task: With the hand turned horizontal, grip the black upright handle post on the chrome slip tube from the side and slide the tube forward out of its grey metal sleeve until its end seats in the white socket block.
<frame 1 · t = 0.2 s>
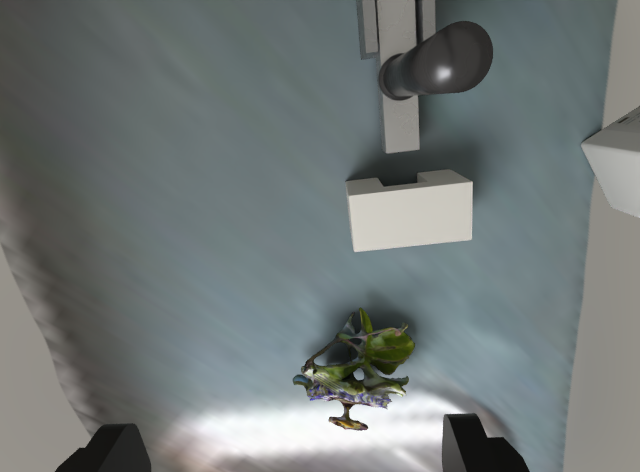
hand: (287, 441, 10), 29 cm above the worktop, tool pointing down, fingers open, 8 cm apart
slip tube: (414, 38, 23), point 9 cm above the worktop, slide at 0.0 cm
container: (632, 152, 35), on the worktop
socket block: (398, 200, 37), on the worktop
passion flower: (352, 340, 43), on the worktop
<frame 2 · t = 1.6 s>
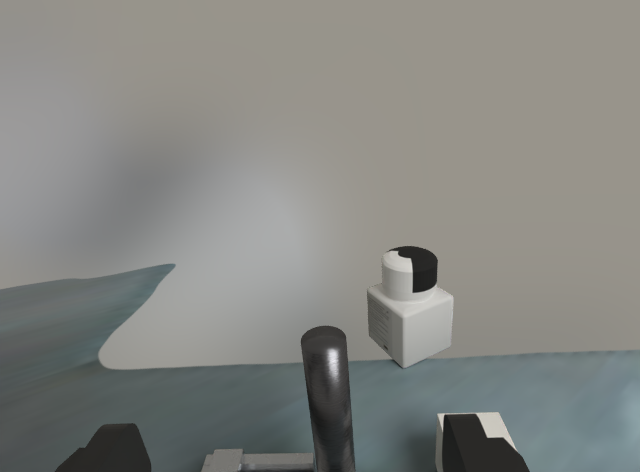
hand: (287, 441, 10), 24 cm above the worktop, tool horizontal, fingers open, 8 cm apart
slip tube: (305, 439, 26), point 9 cm above the worktop, slide at 0.0 cm
container: (408, 343, 49), on the worktop
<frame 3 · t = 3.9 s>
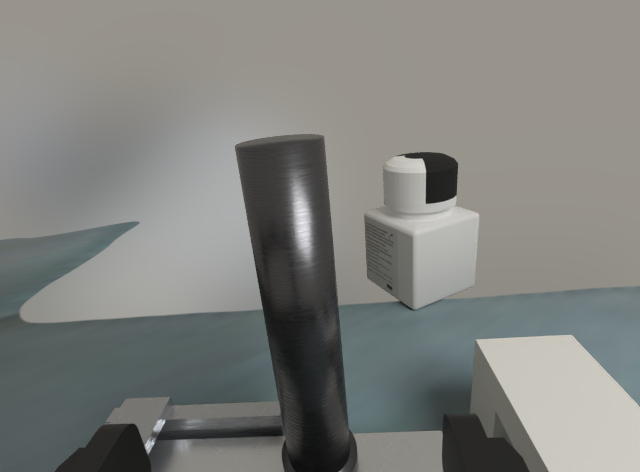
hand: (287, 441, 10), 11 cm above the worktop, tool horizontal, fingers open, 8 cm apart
slip tube: (258, 362, 15), point 9 cm above the worktop, slide at 0.0 cm
container: (418, 284, 38), on the worktop
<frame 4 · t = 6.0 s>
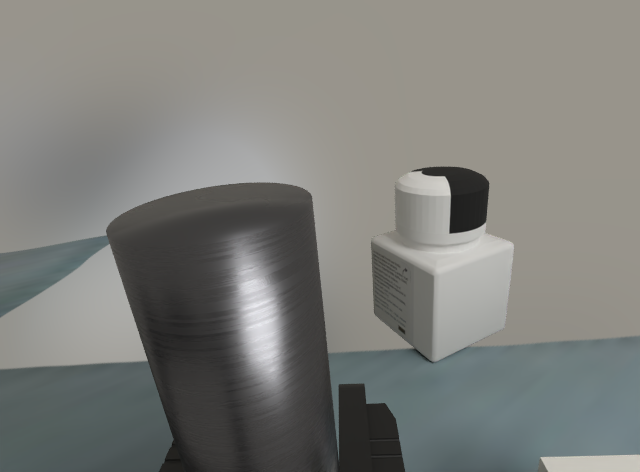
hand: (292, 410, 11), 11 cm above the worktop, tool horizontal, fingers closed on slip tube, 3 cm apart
container: (435, 324, 32), on the worktop
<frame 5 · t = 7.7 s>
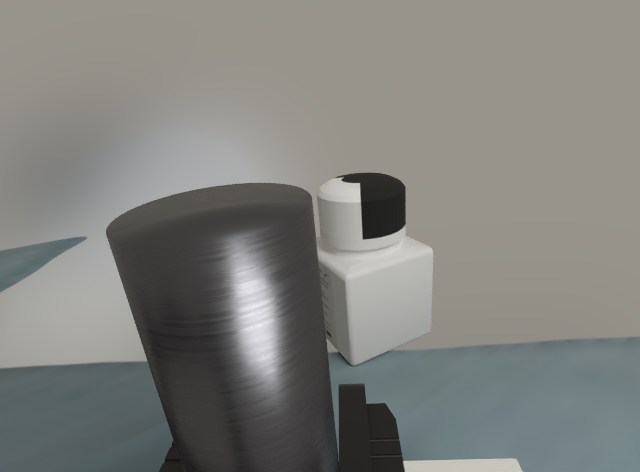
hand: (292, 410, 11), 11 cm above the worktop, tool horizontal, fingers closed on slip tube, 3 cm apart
container: (367, 327, 32), on the worktop
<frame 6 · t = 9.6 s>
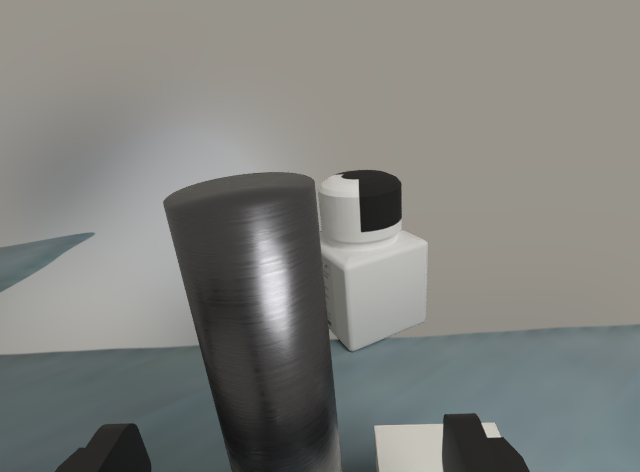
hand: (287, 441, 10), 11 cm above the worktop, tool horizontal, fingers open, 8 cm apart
container: (365, 317, 34), on the worktop
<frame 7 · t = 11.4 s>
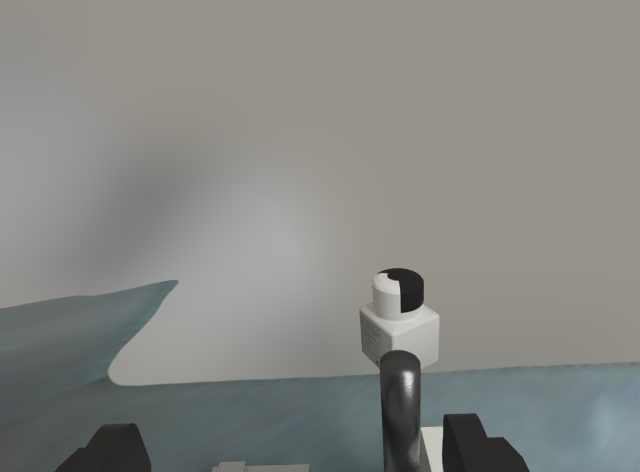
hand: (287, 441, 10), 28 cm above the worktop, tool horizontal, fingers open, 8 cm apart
slip tube: (375, 451, 29), point 9 cm above the worktop, slide at 5.9 cm
container: (399, 357, 53), on the worktop
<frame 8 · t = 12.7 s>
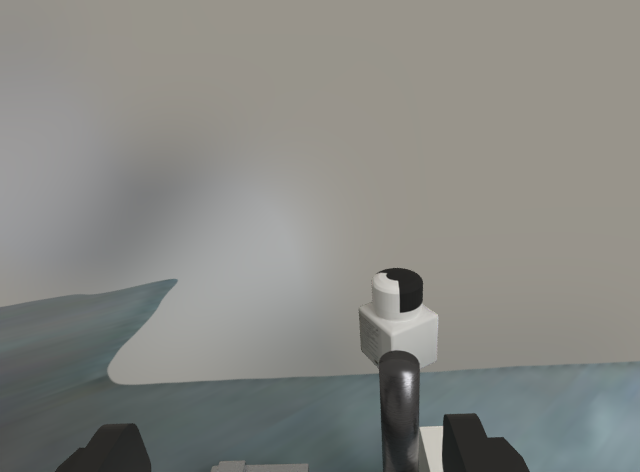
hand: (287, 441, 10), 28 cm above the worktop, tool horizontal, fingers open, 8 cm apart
slip tube: (374, 451, 29), point 9 cm above the worktop, slide at 5.9 cm
container: (397, 357, 53), on the worktop
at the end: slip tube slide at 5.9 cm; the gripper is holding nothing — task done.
